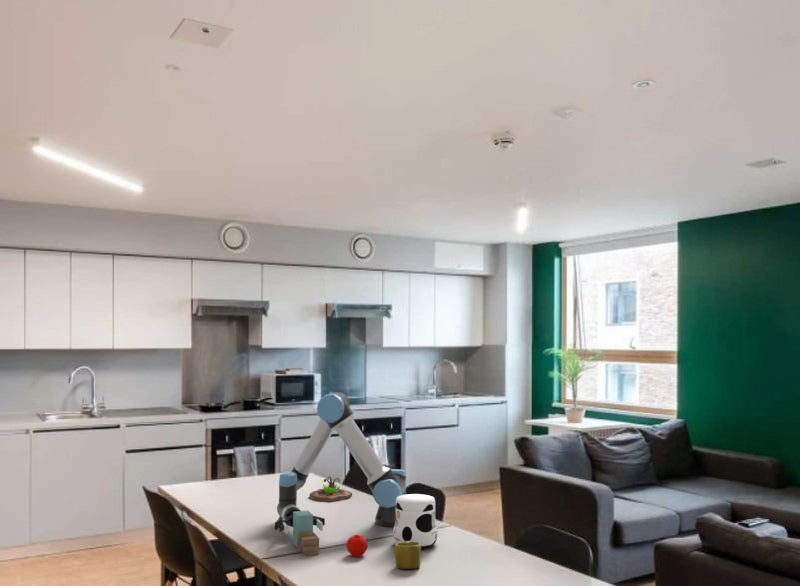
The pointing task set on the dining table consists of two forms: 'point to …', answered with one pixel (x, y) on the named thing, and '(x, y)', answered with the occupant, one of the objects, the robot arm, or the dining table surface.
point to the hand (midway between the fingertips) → (304, 528)
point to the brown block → (308, 543)
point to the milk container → (415, 519)
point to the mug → (407, 555)
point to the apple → (356, 545)
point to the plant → (330, 492)
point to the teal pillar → (301, 524)
